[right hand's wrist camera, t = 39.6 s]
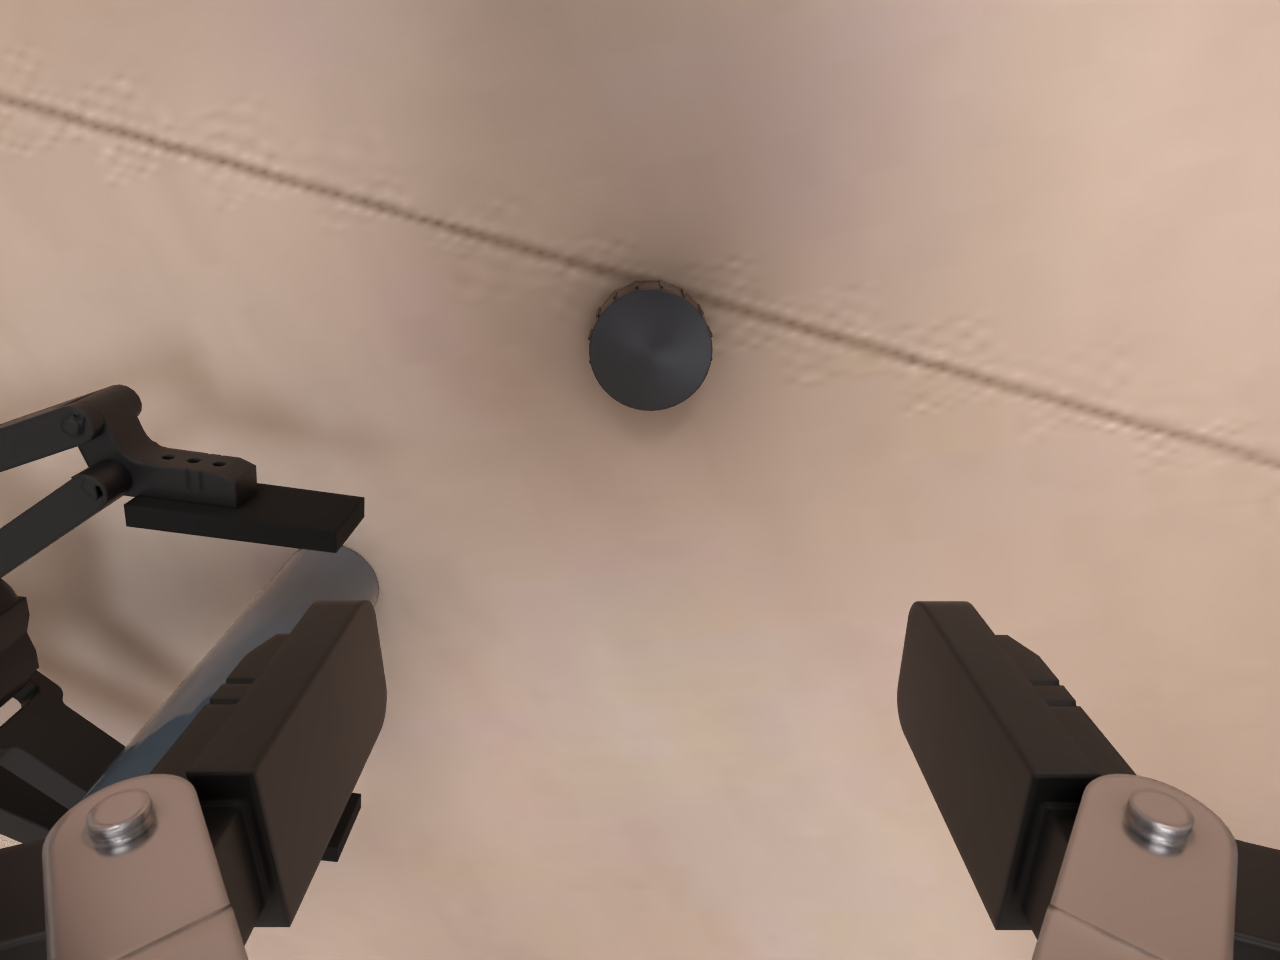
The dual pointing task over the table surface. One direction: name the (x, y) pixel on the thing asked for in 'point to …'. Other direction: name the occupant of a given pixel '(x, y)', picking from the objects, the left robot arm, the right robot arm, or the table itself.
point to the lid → (650, 346)
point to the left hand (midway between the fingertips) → (351, 689)
